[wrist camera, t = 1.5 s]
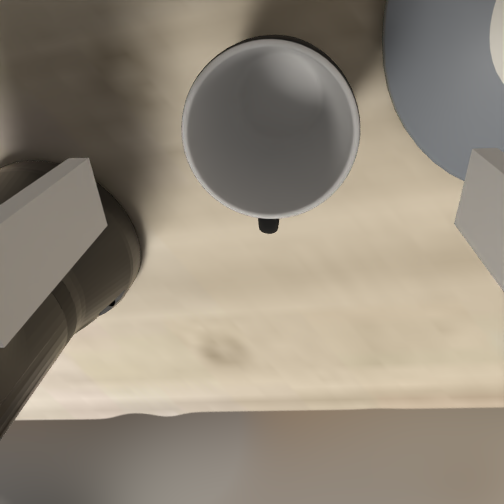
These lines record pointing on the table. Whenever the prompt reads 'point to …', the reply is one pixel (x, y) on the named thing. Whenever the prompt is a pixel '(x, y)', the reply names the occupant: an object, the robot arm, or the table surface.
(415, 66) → the flange base
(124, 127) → the table surface
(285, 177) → the mug
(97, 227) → the robot arm
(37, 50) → the table surface
